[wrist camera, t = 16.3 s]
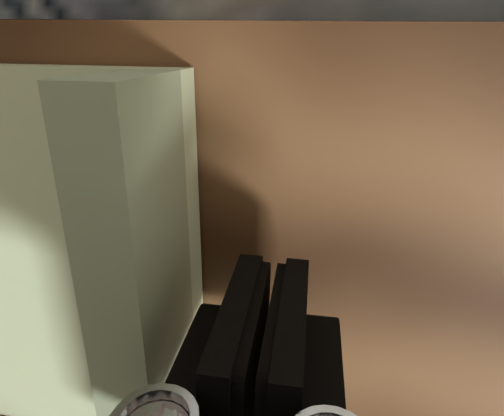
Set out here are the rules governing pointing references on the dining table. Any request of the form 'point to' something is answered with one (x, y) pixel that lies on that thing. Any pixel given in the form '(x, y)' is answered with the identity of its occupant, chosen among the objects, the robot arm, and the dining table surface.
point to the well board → (344, 181)
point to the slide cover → (95, 233)
